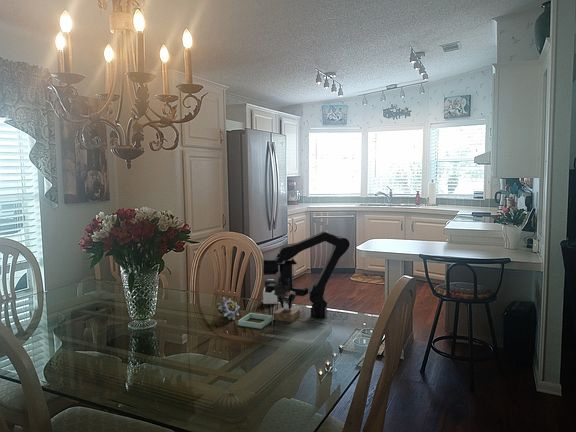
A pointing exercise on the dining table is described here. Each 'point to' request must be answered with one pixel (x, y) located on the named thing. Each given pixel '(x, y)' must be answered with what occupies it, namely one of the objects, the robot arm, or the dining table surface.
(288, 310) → the metal pin
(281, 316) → the holder block
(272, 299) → the medicine bottle
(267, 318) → the mint green square frame
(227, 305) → the passion flower
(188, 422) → the dining table surface
